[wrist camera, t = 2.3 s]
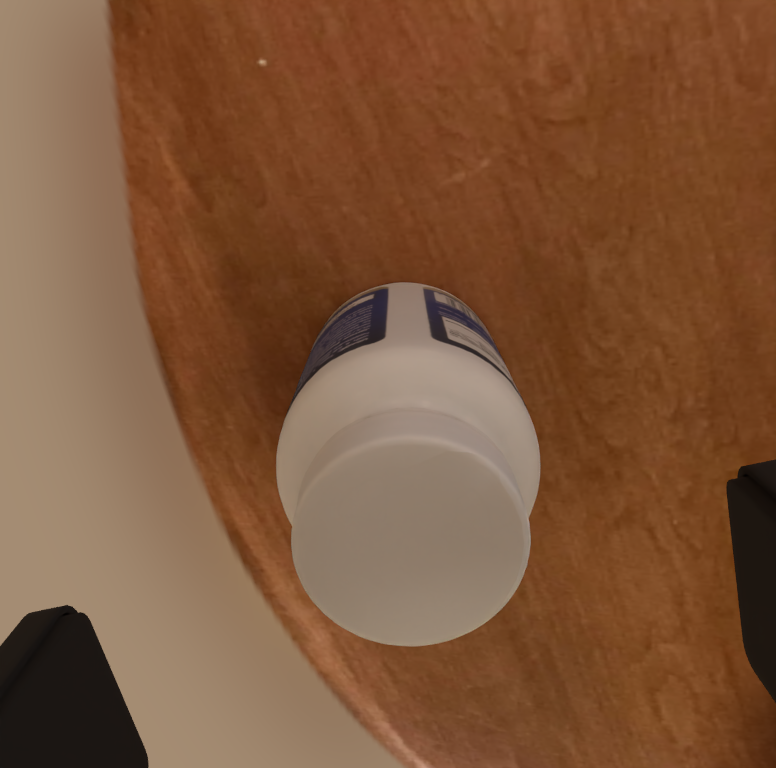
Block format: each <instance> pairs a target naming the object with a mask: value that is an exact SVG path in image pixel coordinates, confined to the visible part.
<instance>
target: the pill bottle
mask: <svg viewBox="0 0 776 768" xmlns="http://www.w3.org/2000/svg"><path fill="white" fill-rule="evenodd" d="M276 477H277V485H278V490H279V495H280V498H281V501H282V504H283V507H284V510H285V513H286V515H287V517H288V519H289V521H290V523H291V525H292V531H291V548H292V556H293V562H294V565H295V568H296V572H297V574H298V577H299V579H300V581H301V584H302V586H303V588H304V590H305V591H306V592H307V594H308V595H309V597H310V598H311V600H312V601H313V602H314V603H315V604H316V606H317V607H318V608H319V609H320V610H321V611H322V612H323V613H324V614H325V615H326V616H327V617H329V618H330V619H331V620H332V621H334V622H335V623H336V624H338V625H339V626H341V627H342V628H344V629H346V630H348V631H350V632H352V633H353V634H355V635H357V636H359V637H362V638H365V639H368V640H371V641H375V642H379V643H382V644H389V645H398V646H424V645H431V644H437V643H441V642H445V641H449V640H452V639H455V638H457V637H460V636H462V635H464V634H467V633H469V632H471V631H473V630H475V629H476V628H478V627H480V626H481V625H483V624H484V623H486V622H487V621H488V620H490V619H491V618H492V617H493V616H494V615H496V614H497V613H498V612H499V611H500V610H501V609H502V608H503V607H504V606H505V605H506V603H507V602H508V601H509V600H510V598H511V597H512V596H513V594H514V592H515V591H516V589H517V588H518V586H519V584H520V582H521V580H522V578H523V576H524V572H525V569H526V567H527V562H528V558H529V553H530V546H531V534H530V524H529V519H528V518H529V516H530V514H531V511H532V508H533V506H534V503H535V500H536V497H537V492H538V487H539V481H540V452H539V445H538V440H537V436H536V432H535V429H534V425H533V423H532V420H531V418H530V415H529V413H528V411H527V408H526V405H525V403H524V401H523V399H522V397H521V395H520V393H519V391H518V389H517V387H516V385H515V383H514V381H513V379H512V377H511V375H510V373H509V371H508V369H507V367H506V365H505V363H504V361H503V359H502V357H501V355H500V353H499V351H498V349H497V347H496V345H495V343H494V341H493V339H492V337H491V335H490V334H489V332H488V330H487V328H486V327H485V325H484V324H483V323H482V321H481V320H480V319H479V317H478V316H477V315H476V314H475V313H474V312H473V311H472V309H471V308H469V307H468V306H467V305H466V304H465V303H464V302H462V301H461V300H459V299H458V298H457V297H455V296H453V295H452V294H450V293H448V292H446V291H444V290H441V289H438V288H436V287H432V286H428V285H425V284H418V283H410V282H400V283H391V284H385V285H381V286H377V287H374V288H371V289H368V290H366V291H364V292H361V293H359V294H358V295H356V296H354V297H352V298H351V299H349V300H348V301H347V302H345V303H344V304H343V305H341V306H340V307H339V308H338V309H337V310H336V311H335V312H334V313H333V314H332V315H331V317H330V318H329V319H328V321H327V322H326V323H325V325H324V326H323V328H322V329H321V331H320V333H319V334H318V336H317V338H316V341H315V343H314V345H313V348H312V350H311V353H310V355H309V357H308V360H307V363H306V365H305V368H304V370H303V372H302V375H301V377H300V380H299V383H298V385H297V388H296V391H295V394H294V396H293V399H292V401H291V404H290V406H289V409H288V411H287V414H286V417H285V420H284V424H283V427H282V431H281V434H280V437H279V443H278V448H277V456H276Z"/></svg>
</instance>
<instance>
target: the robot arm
mask: <svg viewBox="0 0 776 768" xmlns="http://www.w3.org/2000/svg"><path fill="white" fill-rule="evenodd" d="M727 499H728V509H729V518H730V527H731V536H732V545H733V554H734V563H735V572H736V581H737V591H738V600H739V609H740V618H741V627H742V636H743V643H744V648H745V652H746V655H747V657H748V660H749V662H750V664H751V667H752V668H753V670H754V672H755V673H756V675H757V676H758V678H759V679H760V681H761V682H762V683H763V685H764V686H765V688H766V689H767V691H768V692H769V694H770V695H771V697H772V698H773V700H774V701H775V703H776V460H771V461H766V462H761V463H757V464H752V465H747V466H742V467H741V468H740V469H739V471H738V478H736V479H732V480H729V481H728V482H727ZM0 768H148V757H147V753H146V750H145V748H144V746H143V743H142V741H141V738H140V736H139V734H138V731H137V729H136V727H135V724H134V722H133V720H132V717H131V715H130V713H129V710H128V708H127V706H126V704H125V701H124V699H123V696H122V694H121V692H120V689H119V687H118V685H117V682H116V680H115V678H114V675H113V673H112V671H111V668H110V666H109V664H108V661H107V659H106V657H105V654H104V652H103V650H102V647H101V645H100V643H99V640H98V638H97V636H96V633H95V631H94V629H93V626H92V624H91V621H90V620H89V618H88V616H86V615H85V614H84V613H81V612H80V613H78V612H77V611H76V610H75V609H74V608H73V607H71V606H68V605H65V606H61V607H56V608H51V609H46V610H41V611H37V612H32V613H29V614H27V615H26V616H25V617H24V618H23V619H22V620H21V621H20V623H19V624H18V625H17V626H16V627H15V629H14V630H13V631H12V632H11V634H10V635H9V636H8V637H7V639H6V640H5V641H4V642H3V643H2V645H1V646H0Z"/></svg>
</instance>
